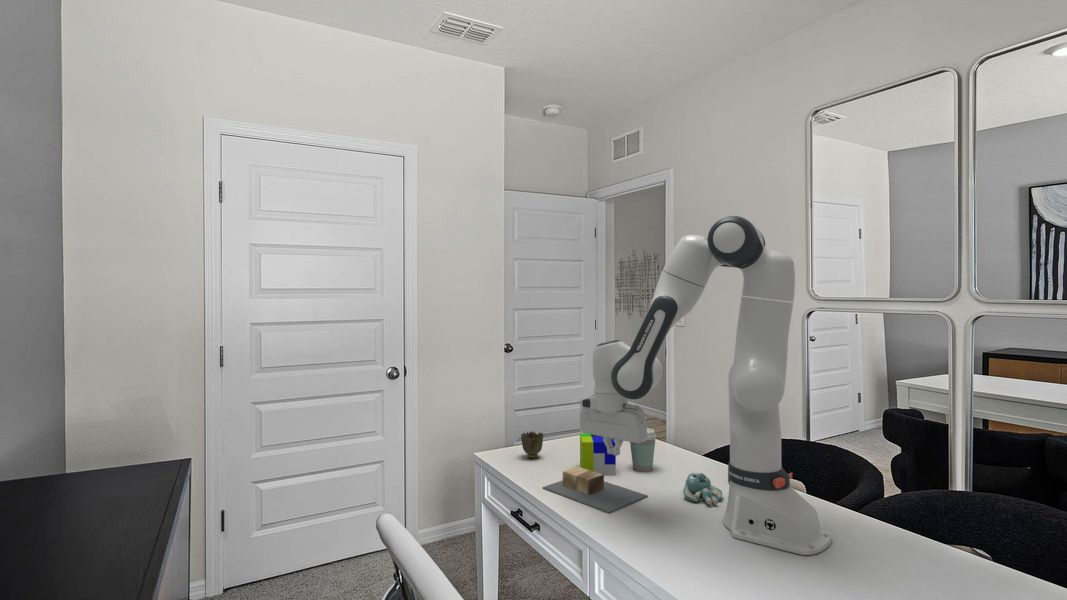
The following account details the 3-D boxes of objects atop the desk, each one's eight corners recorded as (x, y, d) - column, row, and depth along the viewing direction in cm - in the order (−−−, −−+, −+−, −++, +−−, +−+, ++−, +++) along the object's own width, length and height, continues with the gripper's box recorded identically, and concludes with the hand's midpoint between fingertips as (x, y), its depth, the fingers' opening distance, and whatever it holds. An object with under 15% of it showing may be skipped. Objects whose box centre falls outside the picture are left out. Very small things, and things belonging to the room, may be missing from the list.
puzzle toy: (615, 475, 162) (615, 442, 162) (582, 475, 162) (582, 442, 162) (611, 465, 172) (611, 433, 172) (580, 465, 172) (579, 433, 172)
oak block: (603, 474, 149) (577, 466, 157) (589, 480, 145) (562, 471, 153) (603, 489, 150) (577, 480, 157) (589, 494, 145) (562, 485, 153)
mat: (647, 496, 145) (648, 495, 145) (609, 513, 134) (609, 512, 134) (581, 475, 162) (581, 473, 162) (542, 488, 152) (542, 487, 152)
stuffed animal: (694, 488, 136) (675, 465, 148) (692, 514, 137) (673, 489, 149) (734, 486, 137) (712, 462, 149) (731, 511, 139) (710, 486, 150)
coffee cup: (655, 464, 172) (654, 427, 172) (658, 473, 163) (658, 433, 163) (627, 464, 173) (627, 426, 172) (629, 473, 164) (629, 433, 164)
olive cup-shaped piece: (547, 456, 181) (547, 432, 181) (536, 462, 175) (535, 437, 175) (529, 453, 185) (528, 430, 185) (517, 459, 179) (516, 434, 179)
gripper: (651, 404, 138) (653, 458, 138) (590, 396, 153) (592, 445, 153) (635, 408, 133) (638, 464, 133) (575, 400, 149) (577, 450, 149)
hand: (613, 454), depth 143 cm, fingers closed
